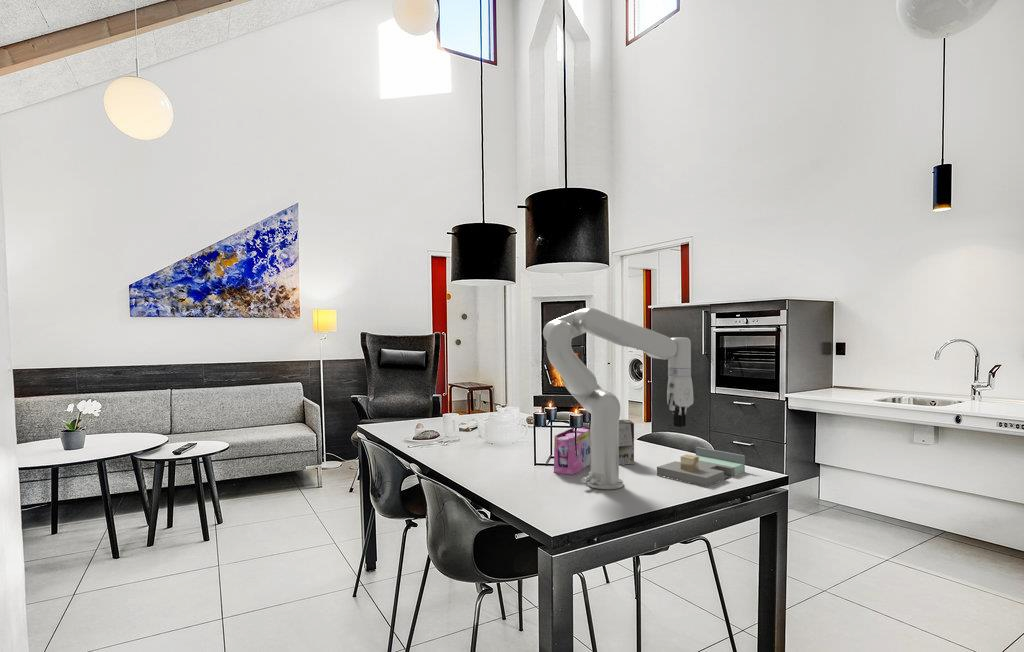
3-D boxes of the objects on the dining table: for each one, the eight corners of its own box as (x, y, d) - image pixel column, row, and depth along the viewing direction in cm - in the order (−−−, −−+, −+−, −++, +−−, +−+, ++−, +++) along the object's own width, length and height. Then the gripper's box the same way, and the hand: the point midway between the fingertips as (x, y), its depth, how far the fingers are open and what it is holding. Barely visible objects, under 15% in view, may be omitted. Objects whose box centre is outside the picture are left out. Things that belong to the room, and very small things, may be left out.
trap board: (706, 486, 177) (706, 468, 177) (656, 475, 191) (656, 458, 191) (744, 471, 196) (744, 455, 196) (696, 462, 210) (696, 446, 210)
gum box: (571, 476, 190) (571, 438, 190) (551, 473, 194) (551, 436, 194) (594, 461, 211) (594, 427, 211) (575, 459, 215) (575, 425, 215)
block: (692, 471, 185) (692, 458, 185) (680, 469, 188) (680, 456, 188) (698, 469, 188) (698, 456, 188) (687, 466, 191) (687, 454, 191)
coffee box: (634, 465, 206) (634, 423, 206) (618, 464, 206) (617, 423, 206) (630, 459, 215) (629, 419, 215) (614, 459, 215) (613, 419, 215)
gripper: (677, 375, 176) (677, 430, 176) (700, 372, 186) (701, 424, 186) (657, 373, 182) (657, 427, 182) (681, 371, 192) (681, 422, 192)
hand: (679, 425), depth 184 cm, fingers closed
